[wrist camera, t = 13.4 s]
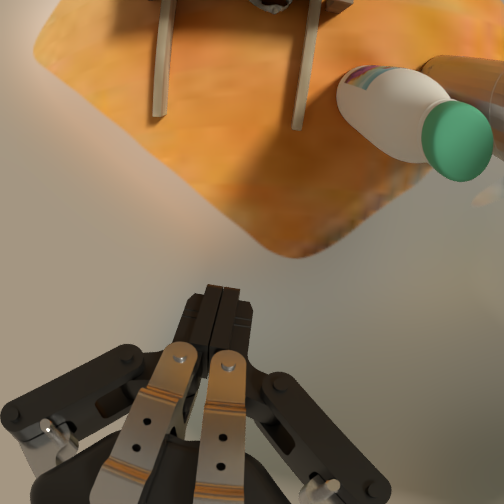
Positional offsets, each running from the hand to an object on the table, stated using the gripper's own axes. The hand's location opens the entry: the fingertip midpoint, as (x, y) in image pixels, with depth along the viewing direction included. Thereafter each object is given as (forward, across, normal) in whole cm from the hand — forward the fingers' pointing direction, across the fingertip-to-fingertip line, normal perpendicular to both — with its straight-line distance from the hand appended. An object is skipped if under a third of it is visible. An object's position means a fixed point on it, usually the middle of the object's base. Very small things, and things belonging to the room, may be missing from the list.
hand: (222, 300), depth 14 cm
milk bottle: (+24, -11, -9) cm, 28 cm away
